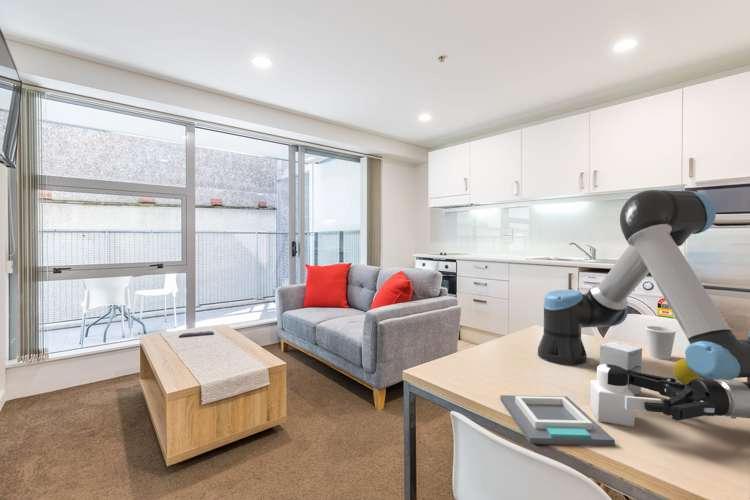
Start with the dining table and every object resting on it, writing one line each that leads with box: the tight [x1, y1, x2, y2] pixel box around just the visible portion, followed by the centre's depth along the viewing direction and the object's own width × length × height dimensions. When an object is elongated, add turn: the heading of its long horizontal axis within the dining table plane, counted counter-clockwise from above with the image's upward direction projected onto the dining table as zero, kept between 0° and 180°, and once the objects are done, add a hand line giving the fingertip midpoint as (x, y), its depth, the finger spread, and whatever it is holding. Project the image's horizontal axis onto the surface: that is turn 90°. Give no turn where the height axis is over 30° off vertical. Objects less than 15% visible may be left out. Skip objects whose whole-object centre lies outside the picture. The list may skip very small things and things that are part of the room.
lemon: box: [673, 357, 700, 385], centre depth 98 cm, size 6×6×8 cm
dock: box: [499, 394, 616, 446], centre depth 80 cm, size 19×17×3 cm
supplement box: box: [598, 341, 643, 396], centre depth 94 cm, size 7×7×13 cm
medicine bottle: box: [589, 364, 636, 427], centre depth 81 cm, size 7×7×12 cm
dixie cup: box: [645, 325, 677, 361], centre depth 121 cm, size 8×8×10 cm
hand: (610, 388), depth 81 cm, fingers open, 13 cm apart
